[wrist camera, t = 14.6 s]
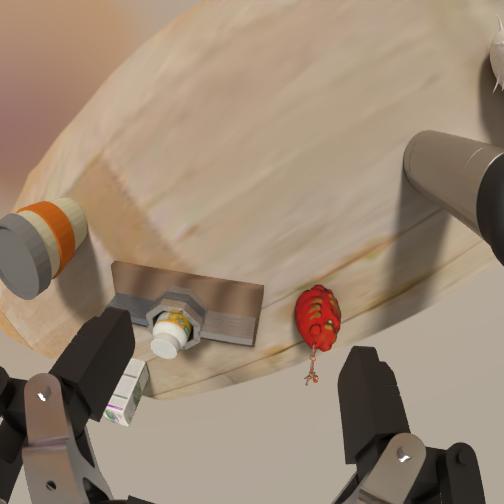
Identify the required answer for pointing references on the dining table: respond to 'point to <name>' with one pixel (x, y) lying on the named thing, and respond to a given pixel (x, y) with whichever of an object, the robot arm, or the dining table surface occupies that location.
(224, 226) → the dining table surface
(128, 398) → the syrup box
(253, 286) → the board
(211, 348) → the dining table surface
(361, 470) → the robot arm
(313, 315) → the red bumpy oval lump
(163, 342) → the supplement bottle
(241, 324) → the grey winged octagonal holder
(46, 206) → the reusable coffee cup
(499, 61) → the cat head
